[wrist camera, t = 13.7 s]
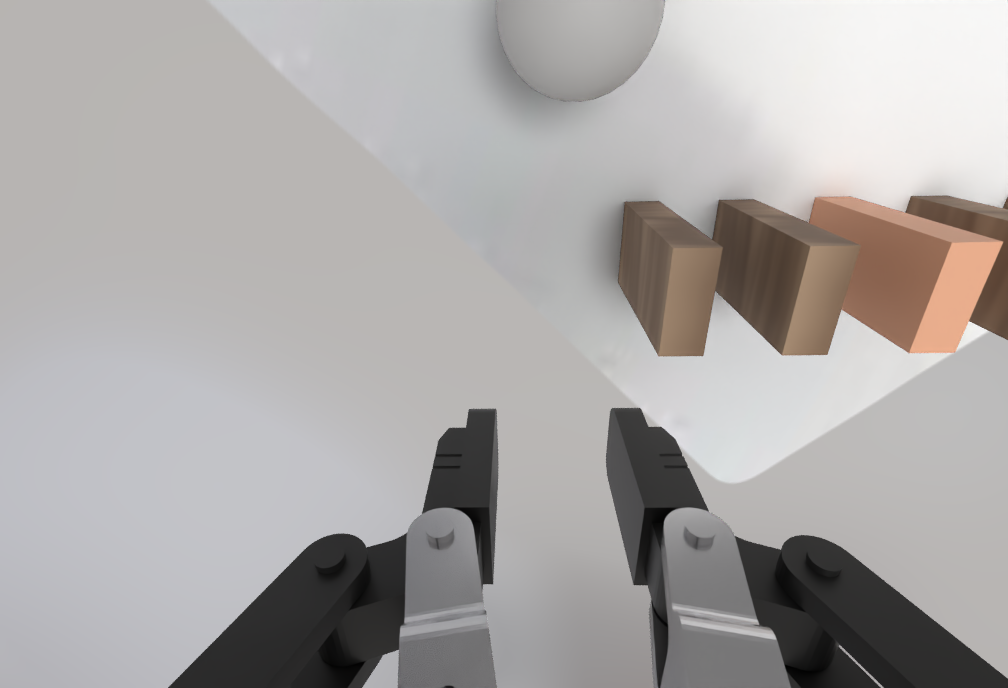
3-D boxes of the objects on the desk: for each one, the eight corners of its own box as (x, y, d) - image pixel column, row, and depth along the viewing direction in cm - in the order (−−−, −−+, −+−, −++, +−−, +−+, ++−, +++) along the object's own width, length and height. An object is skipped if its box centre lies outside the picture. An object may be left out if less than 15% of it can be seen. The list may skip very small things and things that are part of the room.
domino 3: (794, 278, 31) (909, 352, 22) (815, 197, 29) (951, 242, 20) (827, 278, 31) (955, 352, 22) (850, 196, 29) (1003, 241, 20)
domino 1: (617, 282, 31) (658, 356, 22) (624, 201, 29) (673, 248, 20) (649, 281, 31) (703, 355, 22) (658, 201, 29) (722, 247, 20)
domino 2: (705, 281, 31) (781, 355, 22) (719, 200, 29) (810, 246, 20) (737, 280, 31) (827, 354, 22) (753, 199, 29) (860, 245, 20)
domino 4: (883, 278, 31) (1033, 353, 22) (911, 196, 28) (1091, 241, 20) (915, 278, 31) (1080, 352, 22) (946, 195, 28) (1143, 240, 19)
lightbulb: (547, 125, 27) (565, 141, 17) (477, 22, 25) (452, -26, 15) (643, 46, 25) (724, 13, 16) (576, -72, 23) (621, -196, 13)
